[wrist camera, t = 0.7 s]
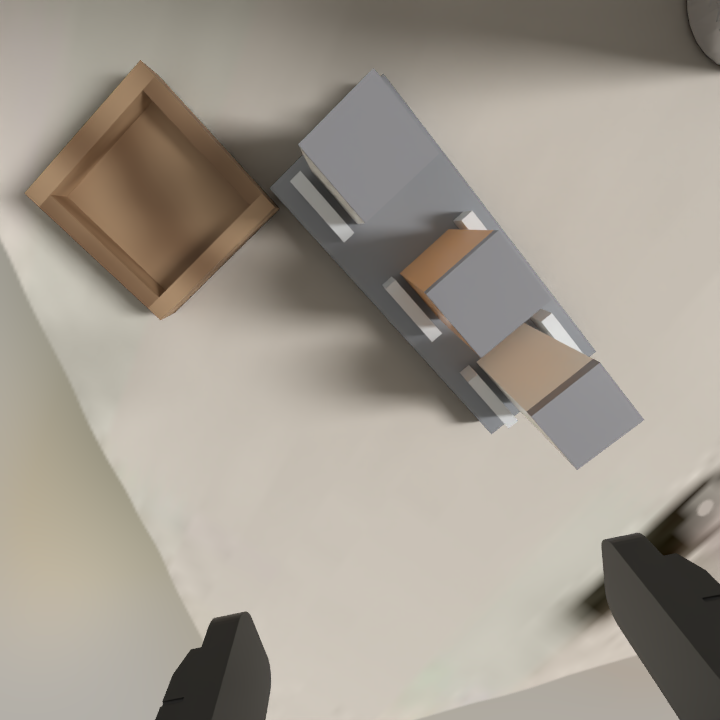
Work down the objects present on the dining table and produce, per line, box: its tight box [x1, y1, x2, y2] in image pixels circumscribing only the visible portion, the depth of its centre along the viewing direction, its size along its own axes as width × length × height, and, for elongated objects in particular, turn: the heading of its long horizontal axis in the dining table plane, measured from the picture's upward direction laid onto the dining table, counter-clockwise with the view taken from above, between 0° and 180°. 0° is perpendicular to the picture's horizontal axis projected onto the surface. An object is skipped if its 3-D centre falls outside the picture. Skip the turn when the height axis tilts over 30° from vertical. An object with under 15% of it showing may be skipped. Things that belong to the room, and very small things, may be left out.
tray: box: [25, 60, 279, 320], centre depth 27 cm, size 10×10×2 cm
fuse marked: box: [400, 229, 552, 358], centre depth 24 cm, size 4×4×9 cm
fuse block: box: [270, 68, 644, 470], centre depth 25 cm, size 9×22×11 cm, turn 42°
